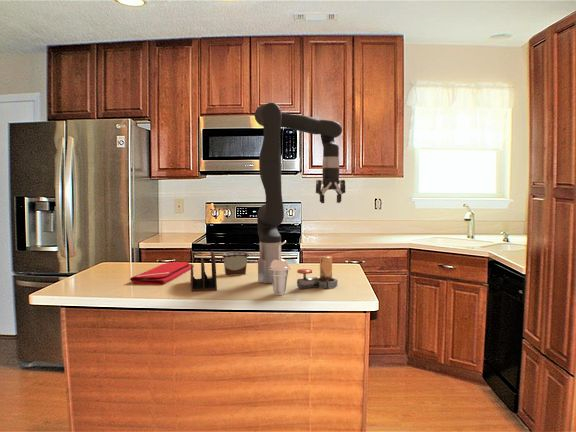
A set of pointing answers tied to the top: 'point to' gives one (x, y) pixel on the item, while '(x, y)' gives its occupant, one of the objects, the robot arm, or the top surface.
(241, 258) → the food container
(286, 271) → the cup with straw
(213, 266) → the letter holder
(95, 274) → the top surface
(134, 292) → the top surface
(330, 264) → the copper cylinder
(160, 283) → the dish drying mat
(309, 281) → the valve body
